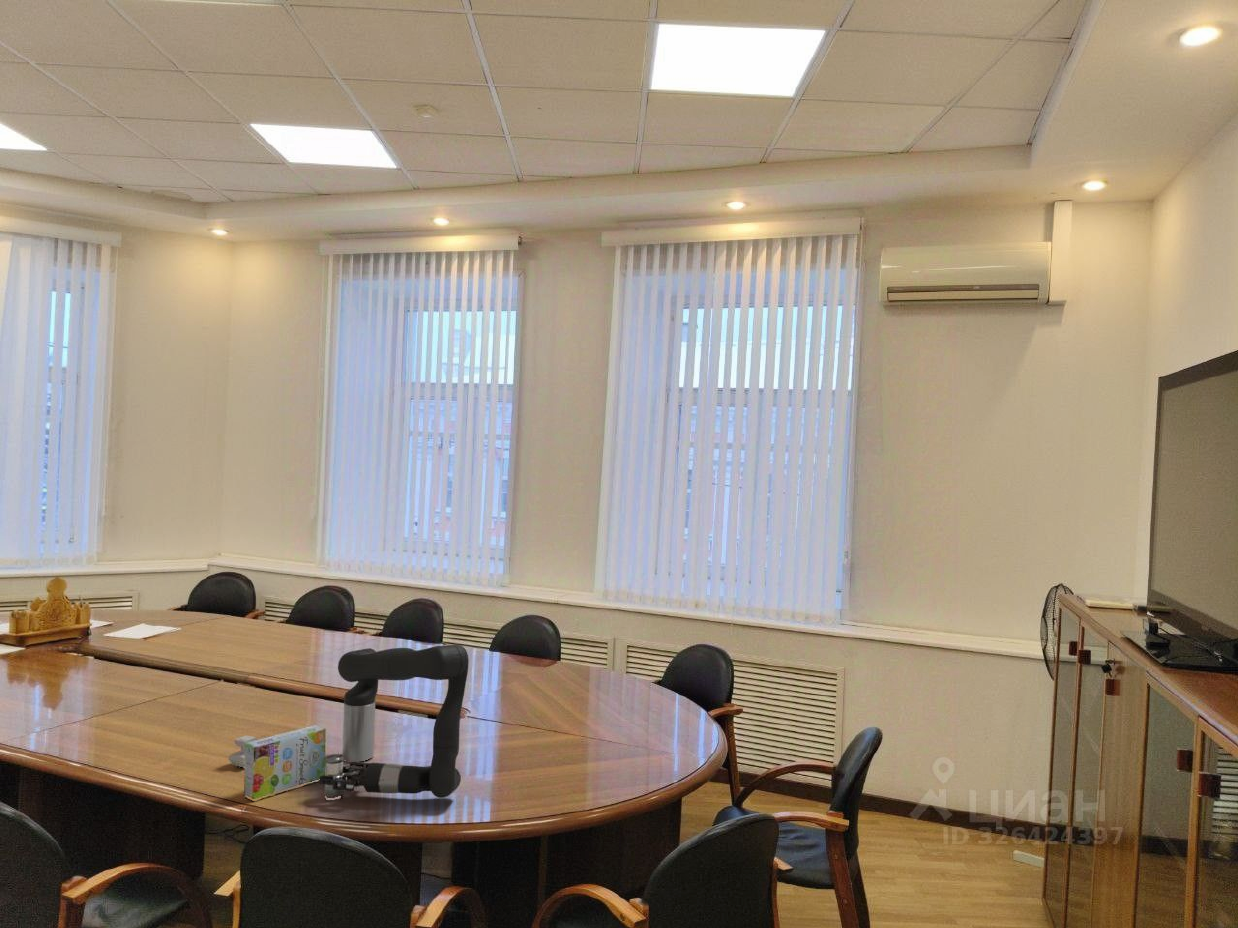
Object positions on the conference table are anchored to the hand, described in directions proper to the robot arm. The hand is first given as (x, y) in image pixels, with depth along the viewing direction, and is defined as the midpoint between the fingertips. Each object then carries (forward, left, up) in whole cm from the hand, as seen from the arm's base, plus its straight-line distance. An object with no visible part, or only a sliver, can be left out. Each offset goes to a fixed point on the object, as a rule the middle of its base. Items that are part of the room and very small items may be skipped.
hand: (325, 774), depth 223 cm
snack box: (-8, -11, -6) cm, 15 cm away
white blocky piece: (-28, -24, -6) cm, 38 cm away
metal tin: (+1, +2, -6) cm, 6 cm away
